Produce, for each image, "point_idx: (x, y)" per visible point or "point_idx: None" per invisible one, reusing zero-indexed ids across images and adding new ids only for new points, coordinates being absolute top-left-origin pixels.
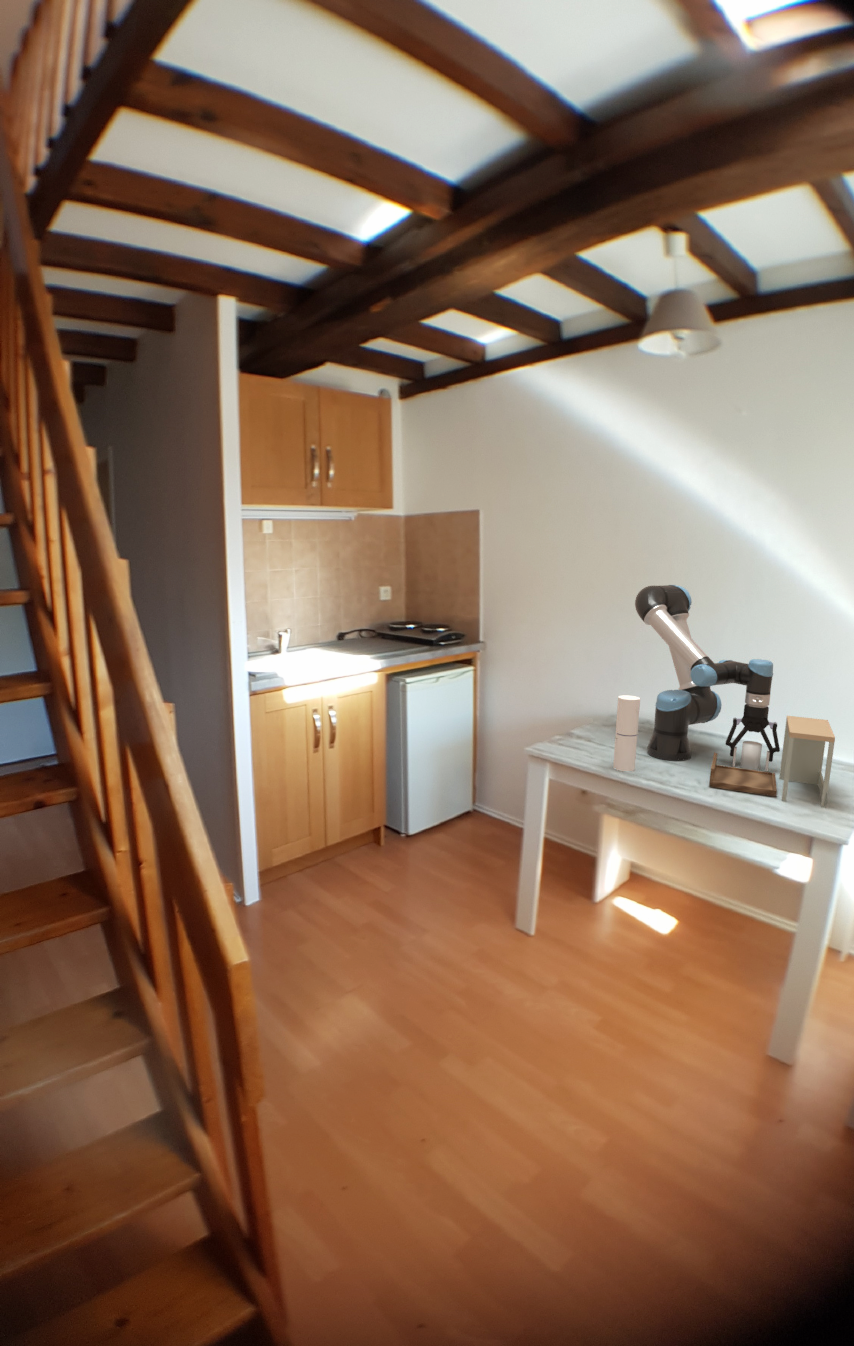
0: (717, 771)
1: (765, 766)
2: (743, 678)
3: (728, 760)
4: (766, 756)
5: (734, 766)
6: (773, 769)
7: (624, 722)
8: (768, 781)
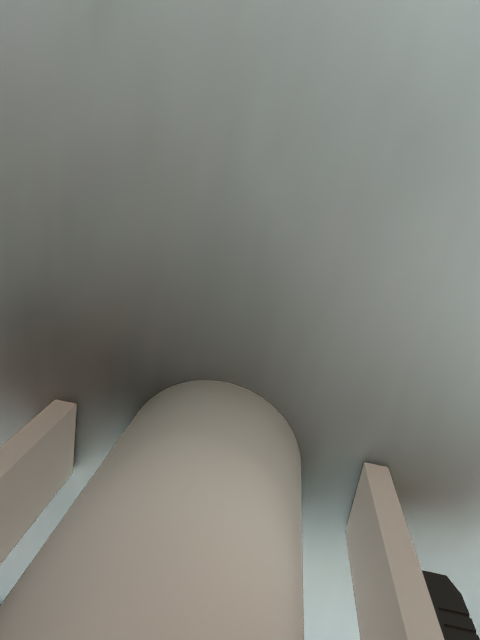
0: None
1: (361, 514)
2: None
3: (20, 242)
4: (390, 581)
5: (68, 474)
6: (460, 431)
7: None
8: None
